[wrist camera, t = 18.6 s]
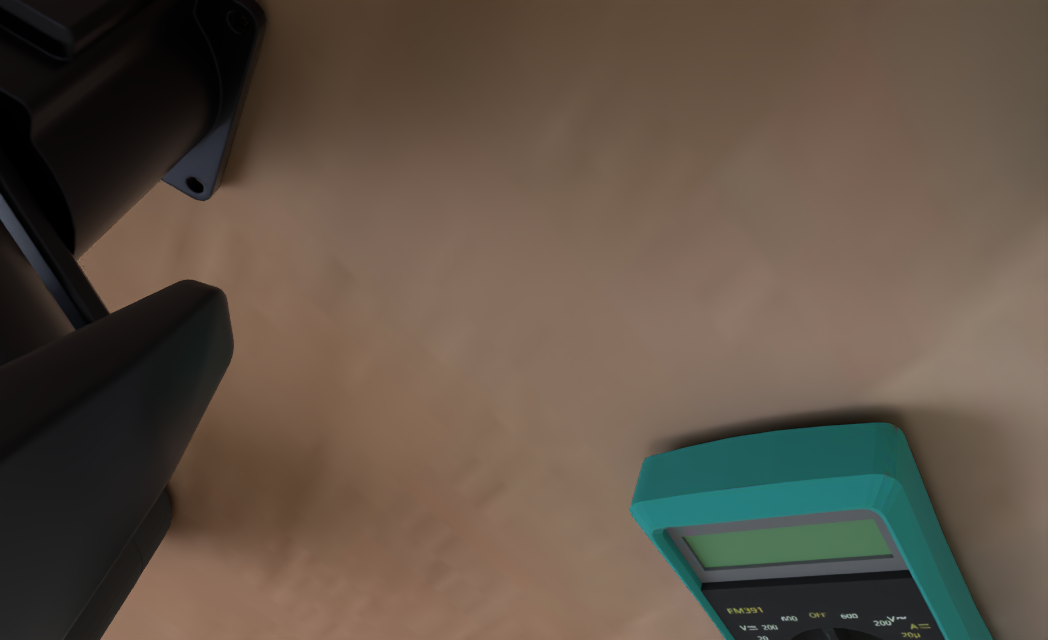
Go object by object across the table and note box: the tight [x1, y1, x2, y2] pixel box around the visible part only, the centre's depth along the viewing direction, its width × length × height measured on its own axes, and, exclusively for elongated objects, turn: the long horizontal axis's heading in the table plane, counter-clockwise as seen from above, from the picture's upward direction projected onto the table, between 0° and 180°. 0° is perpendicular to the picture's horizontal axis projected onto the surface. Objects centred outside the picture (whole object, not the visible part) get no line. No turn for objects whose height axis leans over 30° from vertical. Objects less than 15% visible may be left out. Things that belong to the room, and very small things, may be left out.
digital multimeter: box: [630, 422, 993, 640], centre depth 28 cm, size 7×15×3 cm, turn 32°
